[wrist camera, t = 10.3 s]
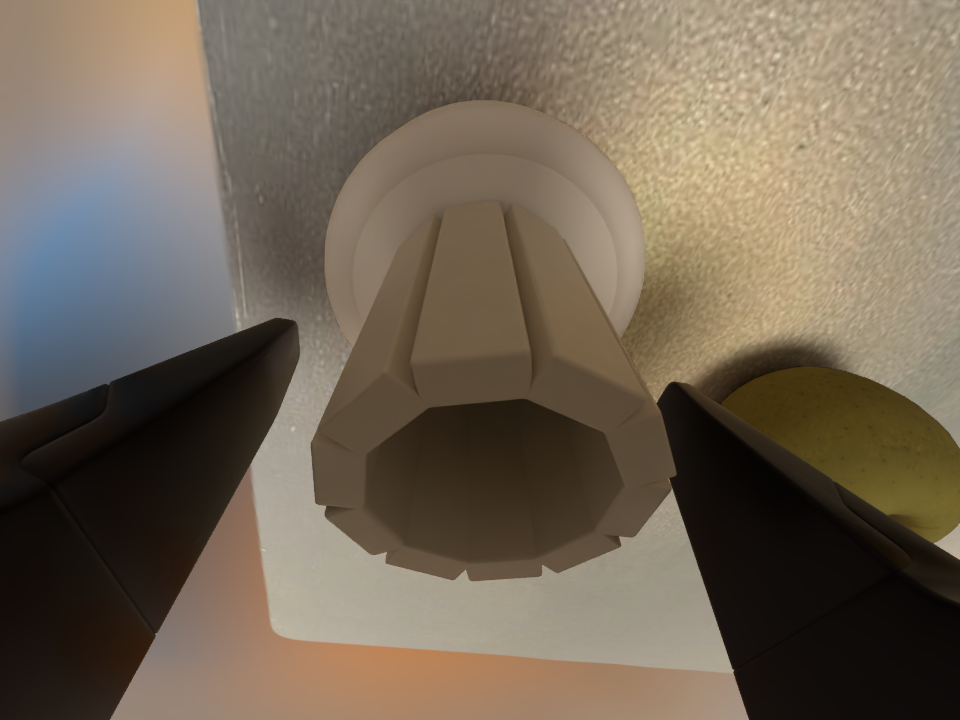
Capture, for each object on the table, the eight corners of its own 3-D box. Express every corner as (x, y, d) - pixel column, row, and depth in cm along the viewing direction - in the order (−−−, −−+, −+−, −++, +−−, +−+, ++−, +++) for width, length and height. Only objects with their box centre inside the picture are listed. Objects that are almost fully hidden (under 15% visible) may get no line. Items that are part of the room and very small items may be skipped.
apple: (747, 314, 16) (895, 443, 11) (892, 359, 18) (1092, 494, 12) (650, 435, 21) (718, 574, 15) (773, 463, 22) (879, 600, 16)
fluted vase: (385, 359, 13) (318, 570, 8) (398, 178, 10) (297, 314, 4) (544, 382, 14) (592, 593, 8) (606, 221, 11) (755, 387, 5)
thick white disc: (567, 377, 18) (584, 432, 15) (349, 345, 17) (324, 398, 14) (665, 137, 13) (721, 155, 10) (348, 64, 11) (305, 60, 9)
